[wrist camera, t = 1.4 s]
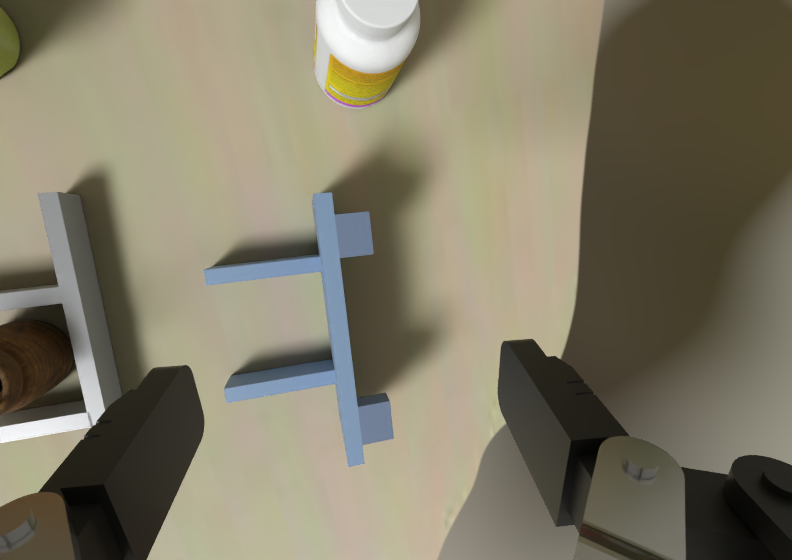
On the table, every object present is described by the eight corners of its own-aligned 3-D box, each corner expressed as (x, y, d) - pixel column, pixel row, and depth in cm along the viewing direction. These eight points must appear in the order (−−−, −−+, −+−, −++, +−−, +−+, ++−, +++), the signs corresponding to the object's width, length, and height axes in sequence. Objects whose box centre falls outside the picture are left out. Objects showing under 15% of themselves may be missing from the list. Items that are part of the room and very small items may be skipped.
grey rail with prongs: (7, 506, 33) (-21, 533, 31) (-73, 207, 30) (-113, 205, 27) (139, 479, 35) (124, 502, 32) (79, 195, 32) (57, 191, 29)
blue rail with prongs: (241, 437, 37) (223, 494, 29) (203, 210, 34) (172, 206, 26) (377, 411, 39) (395, 456, 31) (353, 197, 36) (366, 189, 28)
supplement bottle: (403, 95, 36) (455, 26, 24) (333, 122, 35) (348, 65, 23) (373, 16, 35) (411, -102, 22) (299, 42, 34) (296, -65, 21)
